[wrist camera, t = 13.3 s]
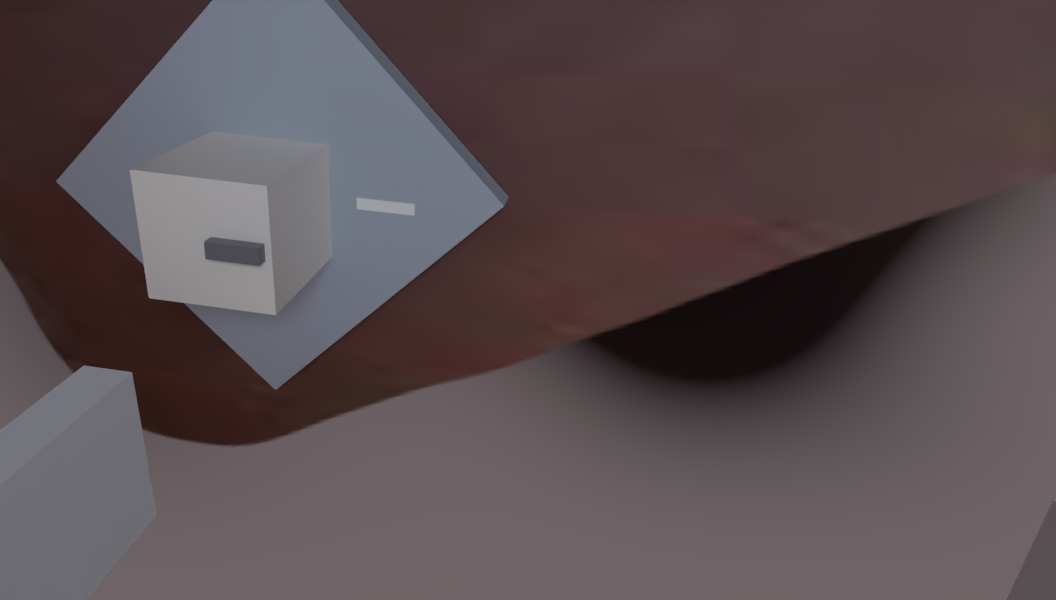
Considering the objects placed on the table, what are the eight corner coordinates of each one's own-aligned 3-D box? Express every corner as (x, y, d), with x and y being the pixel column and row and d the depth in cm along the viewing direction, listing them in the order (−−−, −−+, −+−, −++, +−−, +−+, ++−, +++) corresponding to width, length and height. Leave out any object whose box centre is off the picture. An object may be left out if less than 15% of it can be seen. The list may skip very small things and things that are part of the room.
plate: (74, 173, 42) (-25, 215, 36) (281, -64, 36) (205, -64, 30) (286, 376, 46) (230, 446, 40) (508, 196, 40) (483, 246, 33)
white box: (223, 242, 41) (141, 303, 35) (212, 131, 39) (120, 173, 32) (332, 256, 41) (270, 321, 34) (328, 144, 38) (260, 190, 31)
